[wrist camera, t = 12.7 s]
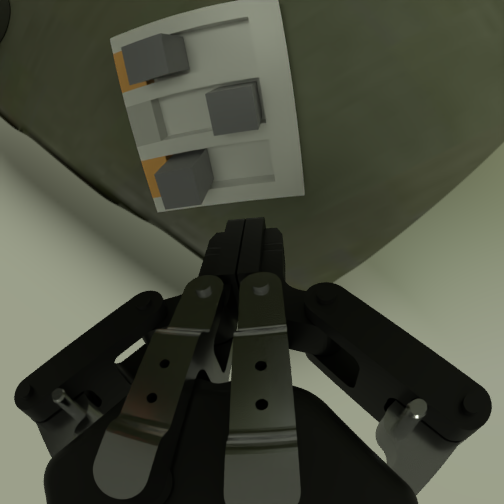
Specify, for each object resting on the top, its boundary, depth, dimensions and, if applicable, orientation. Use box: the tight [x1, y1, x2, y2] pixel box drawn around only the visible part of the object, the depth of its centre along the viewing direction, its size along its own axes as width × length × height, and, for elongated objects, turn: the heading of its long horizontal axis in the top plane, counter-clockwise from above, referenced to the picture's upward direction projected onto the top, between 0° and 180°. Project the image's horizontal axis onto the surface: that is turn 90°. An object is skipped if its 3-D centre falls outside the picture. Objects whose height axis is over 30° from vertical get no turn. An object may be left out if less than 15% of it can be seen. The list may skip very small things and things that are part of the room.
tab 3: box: [205, 81, 262, 136], centre depth 24 cm, size 4×4×6 cm
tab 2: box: [154, 148, 214, 210], centre depth 28 cm, size 4×4×6 cm
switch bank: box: [110, 0, 305, 212], centre depth 27 cm, size 16×20×3 cm
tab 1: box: [121, 33, 190, 85], centre depth 21 cm, size 4×4×6 cm
